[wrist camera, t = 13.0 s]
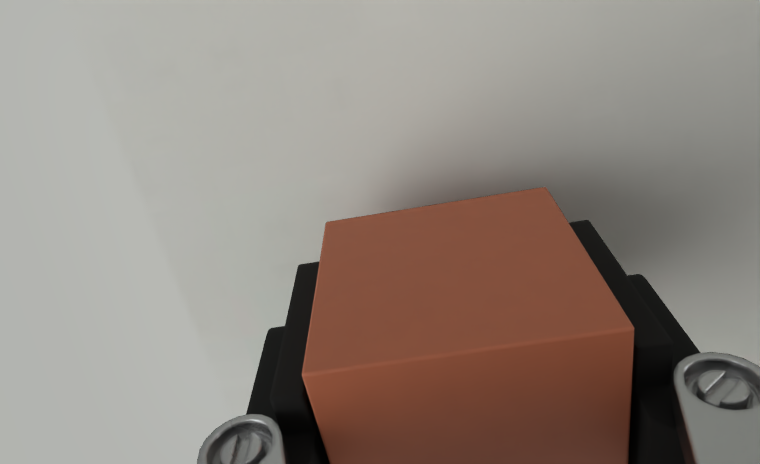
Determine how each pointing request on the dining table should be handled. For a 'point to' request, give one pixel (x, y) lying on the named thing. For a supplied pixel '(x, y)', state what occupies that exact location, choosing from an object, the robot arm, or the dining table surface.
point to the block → (467, 339)
